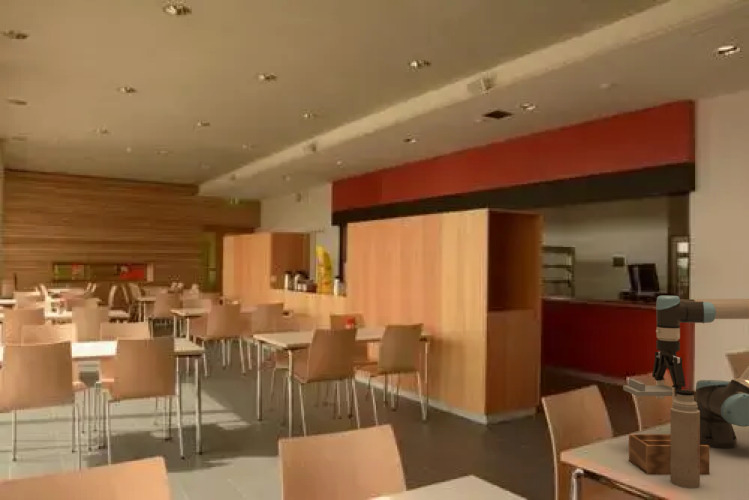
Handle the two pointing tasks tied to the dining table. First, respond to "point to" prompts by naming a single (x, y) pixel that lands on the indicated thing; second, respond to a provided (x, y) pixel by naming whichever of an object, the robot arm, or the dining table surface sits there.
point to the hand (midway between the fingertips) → (668, 402)
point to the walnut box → (658, 454)
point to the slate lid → (647, 389)
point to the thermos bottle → (685, 441)
